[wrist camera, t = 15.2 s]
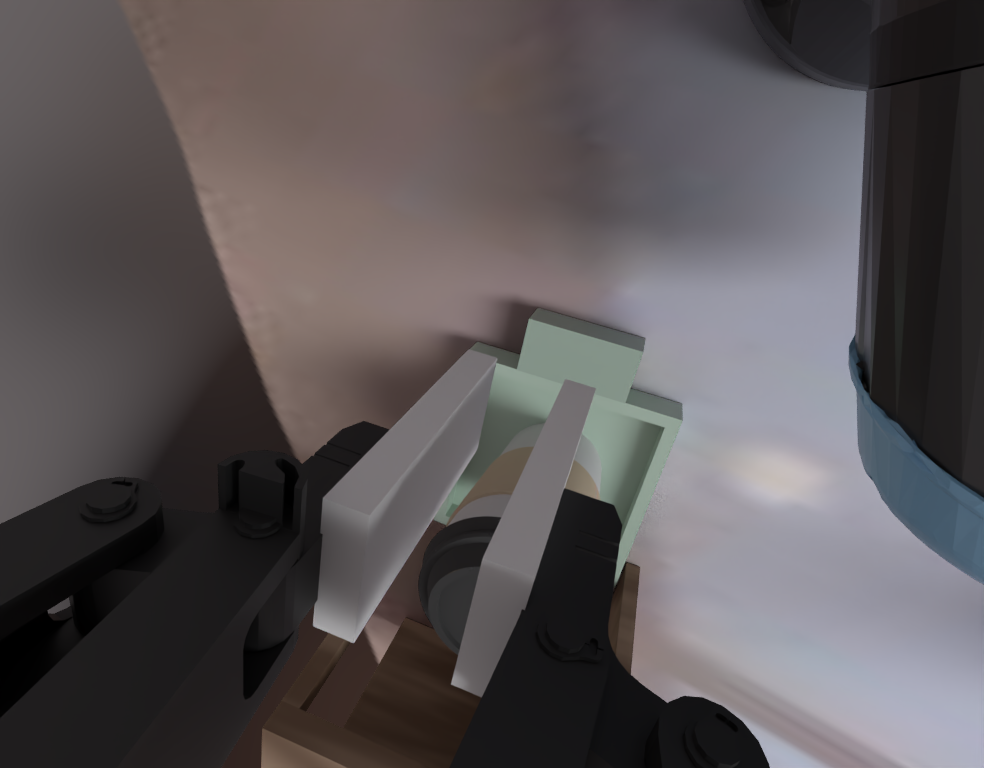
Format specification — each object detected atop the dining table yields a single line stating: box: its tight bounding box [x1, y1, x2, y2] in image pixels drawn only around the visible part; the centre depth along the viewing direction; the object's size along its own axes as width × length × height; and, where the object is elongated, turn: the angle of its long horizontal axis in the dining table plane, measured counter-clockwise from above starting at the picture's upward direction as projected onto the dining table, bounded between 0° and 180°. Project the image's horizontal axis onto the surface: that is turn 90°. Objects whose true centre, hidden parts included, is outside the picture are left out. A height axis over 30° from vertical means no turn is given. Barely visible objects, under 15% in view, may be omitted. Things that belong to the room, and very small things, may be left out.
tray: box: [434, 308, 683, 587], centre depth 39 cm, size 18×14×2 cm
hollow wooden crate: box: [261, 563, 640, 768], centre depth 38 cm, size 16×17×20 cm
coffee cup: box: [418, 423, 602, 655], centre depth 33 cm, size 9×9×15 cm
